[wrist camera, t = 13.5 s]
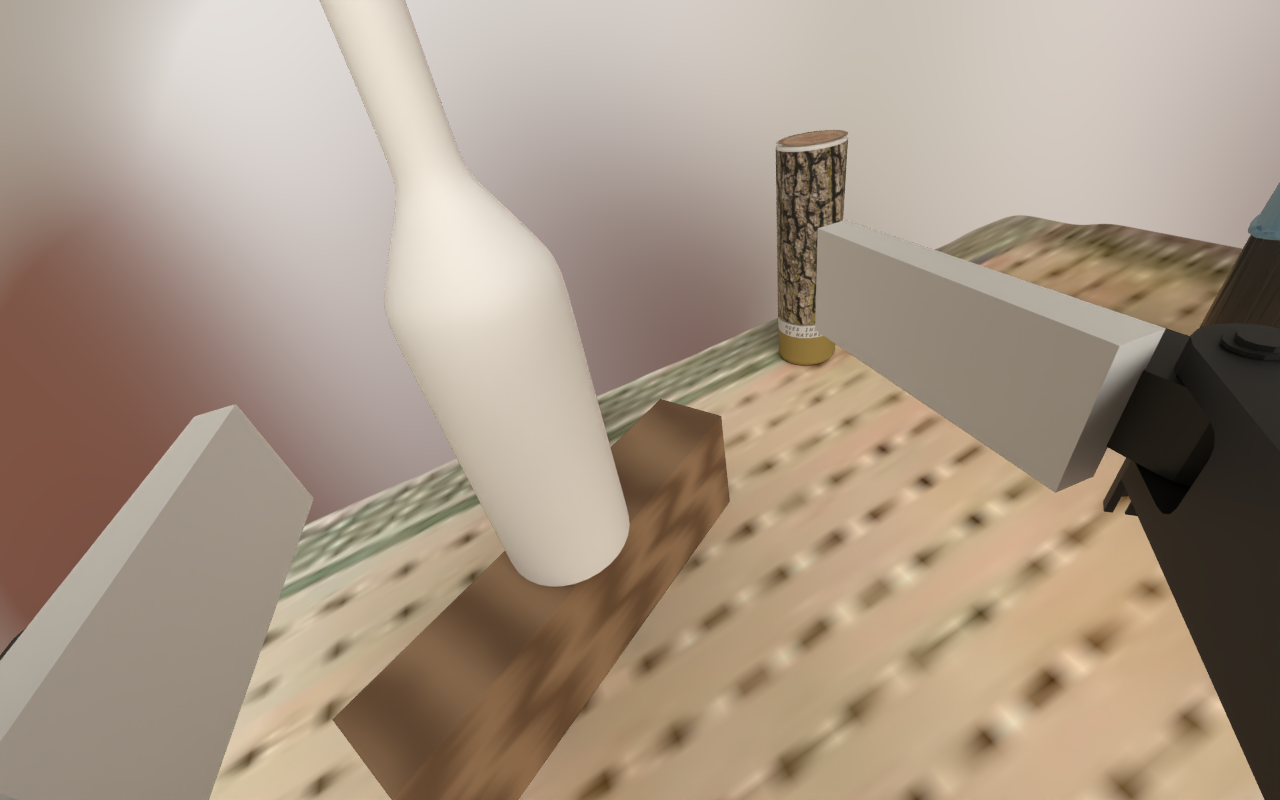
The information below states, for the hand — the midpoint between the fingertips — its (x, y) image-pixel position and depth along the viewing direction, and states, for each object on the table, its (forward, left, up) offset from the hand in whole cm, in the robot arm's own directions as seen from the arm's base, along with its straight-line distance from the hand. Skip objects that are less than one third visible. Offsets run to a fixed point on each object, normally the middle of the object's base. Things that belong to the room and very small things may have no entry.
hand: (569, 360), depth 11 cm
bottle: (+2, -13, -20) cm, 24 cm away
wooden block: (+2, -13, -29) cm, 32 cm away
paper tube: (-32, -37, -30) cm, 57 cm away
